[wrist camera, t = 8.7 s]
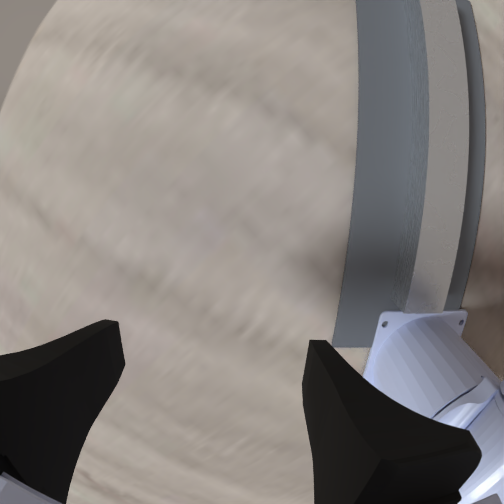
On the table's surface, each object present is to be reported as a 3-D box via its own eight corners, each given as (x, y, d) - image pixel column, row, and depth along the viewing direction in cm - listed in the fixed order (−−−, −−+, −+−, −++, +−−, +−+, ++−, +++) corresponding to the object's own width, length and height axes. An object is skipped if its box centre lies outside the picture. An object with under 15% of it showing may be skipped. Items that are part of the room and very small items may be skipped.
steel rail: (426, 298, 19) (442, 313, 17) (390, 297, 19) (403, 313, 17) (438, 4, 13) (453, -9, 11) (402, -8, 14) (415, -24, 11)
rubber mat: (446, 341, 21) (448, 343, 20) (331, 344, 21) (332, 347, 21) (467, 2, 13) (469, 1, 13) (352, -36, 14) (353, -39, 13)
